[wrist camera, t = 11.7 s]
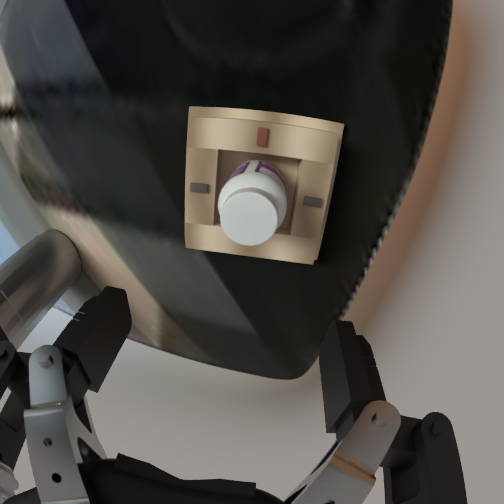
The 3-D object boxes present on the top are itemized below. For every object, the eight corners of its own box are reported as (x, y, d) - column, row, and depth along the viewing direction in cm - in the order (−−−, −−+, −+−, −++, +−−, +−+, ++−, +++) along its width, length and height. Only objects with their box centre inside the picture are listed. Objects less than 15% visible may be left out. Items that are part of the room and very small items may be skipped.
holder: (186, 240, 31) (176, 256, 28) (191, 106, 24) (178, 106, 21) (316, 257, 31) (320, 275, 28) (342, 124, 24) (352, 125, 20)
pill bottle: (237, 213, 29) (219, 259, 20) (226, 164, 26) (200, 190, 18) (288, 205, 28) (293, 249, 19) (280, 154, 25) (281, 176, 17)
